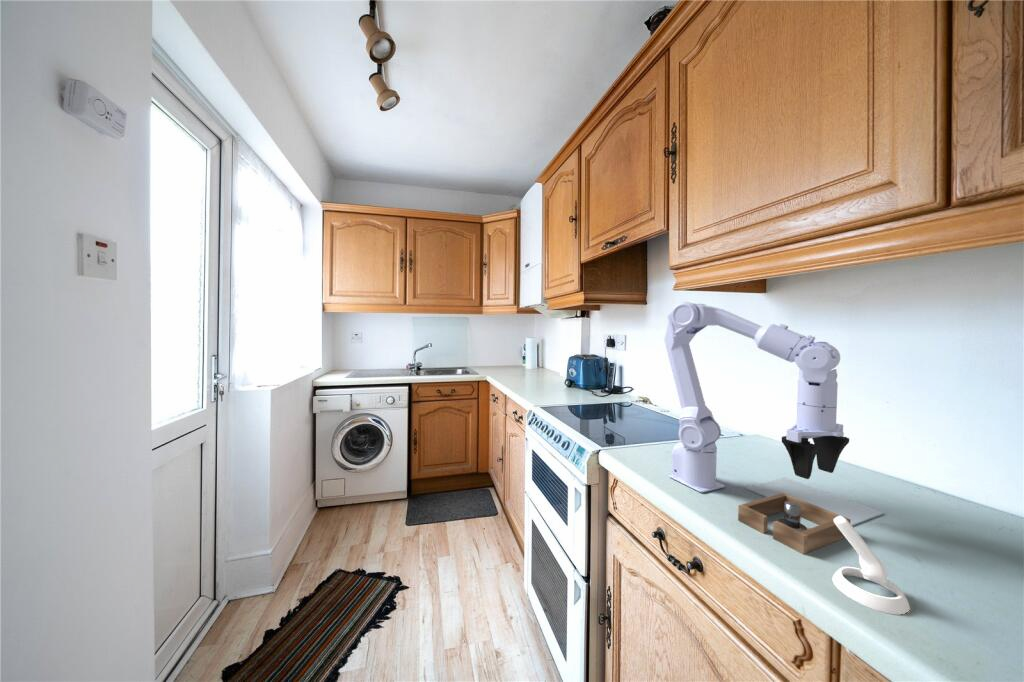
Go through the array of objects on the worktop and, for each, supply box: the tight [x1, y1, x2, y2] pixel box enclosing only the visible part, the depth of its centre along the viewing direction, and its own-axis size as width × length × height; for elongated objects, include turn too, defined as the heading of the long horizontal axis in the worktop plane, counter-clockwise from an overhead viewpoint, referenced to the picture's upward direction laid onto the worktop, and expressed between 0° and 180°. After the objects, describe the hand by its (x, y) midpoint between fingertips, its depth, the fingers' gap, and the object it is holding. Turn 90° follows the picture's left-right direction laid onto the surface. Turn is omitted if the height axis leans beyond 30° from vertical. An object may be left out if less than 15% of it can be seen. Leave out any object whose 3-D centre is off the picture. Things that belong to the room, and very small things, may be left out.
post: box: [776, 501, 808, 532], centre depth 65 cm, size 4×4×4 cm
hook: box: [831, 516, 911, 616], centre depth 50 cm, size 8×12×7 cm
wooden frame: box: [737, 493, 851, 555], centre depth 65 cm, size 11×14×3 cm
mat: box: [745, 477, 885, 527], centre depth 75 cm, size 18×15×1 cm
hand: (814, 473), depth 67 cm, fingers open, 7 cm apart
